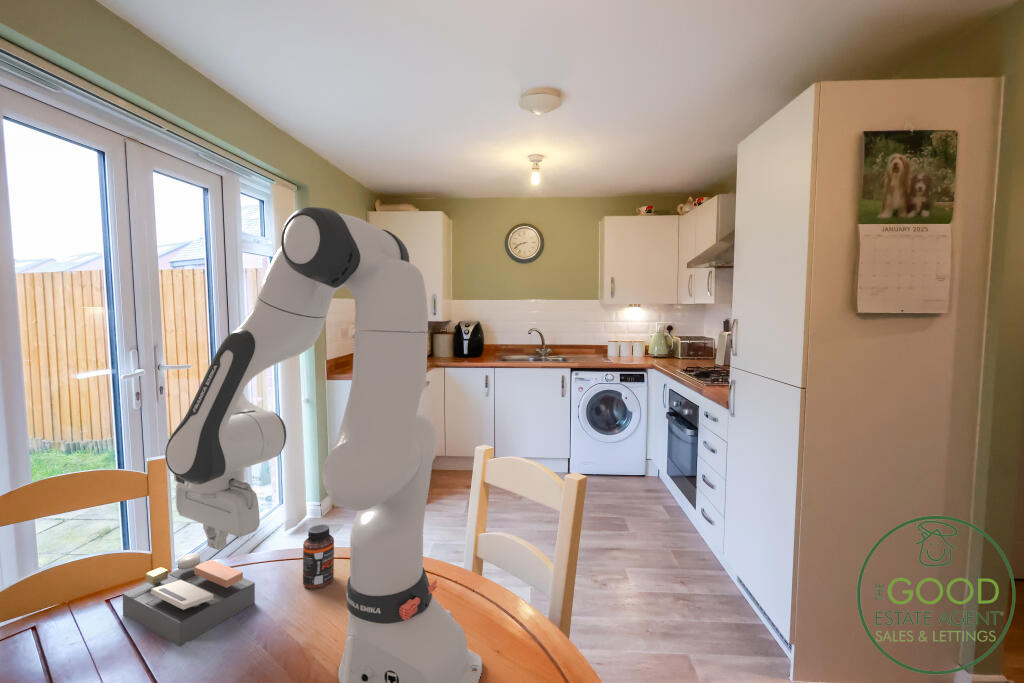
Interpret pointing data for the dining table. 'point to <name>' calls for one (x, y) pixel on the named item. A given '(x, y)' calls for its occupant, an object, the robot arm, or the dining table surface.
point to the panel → (191, 620)
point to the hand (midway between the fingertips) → (216, 547)
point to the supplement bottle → (318, 557)
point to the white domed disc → (188, 561)
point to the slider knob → (157, 576)
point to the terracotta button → (218, 573)
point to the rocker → (182, 594)
